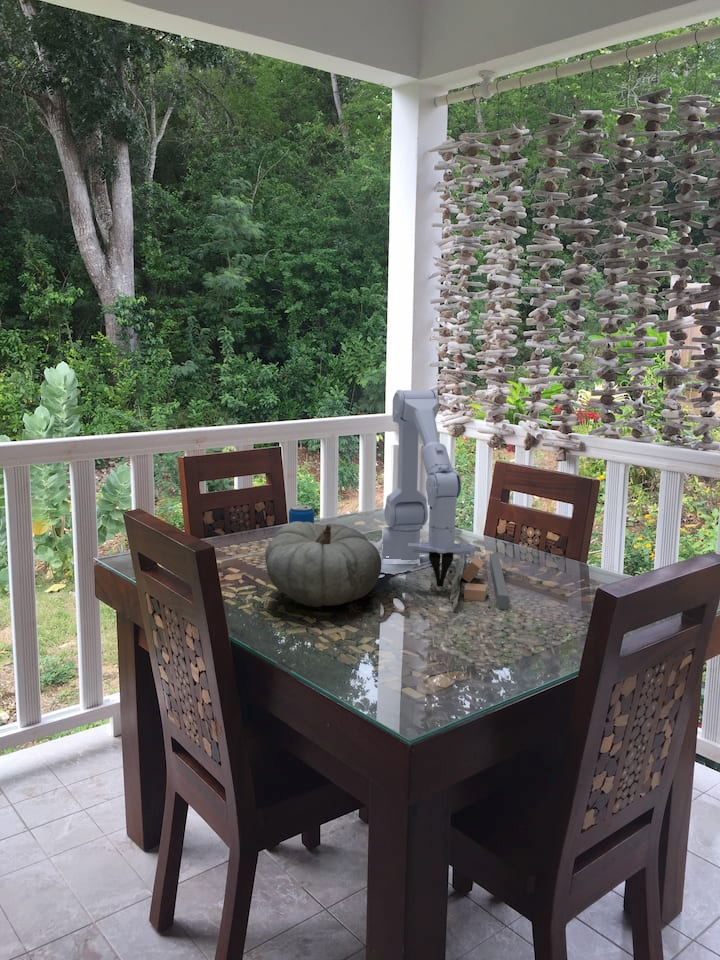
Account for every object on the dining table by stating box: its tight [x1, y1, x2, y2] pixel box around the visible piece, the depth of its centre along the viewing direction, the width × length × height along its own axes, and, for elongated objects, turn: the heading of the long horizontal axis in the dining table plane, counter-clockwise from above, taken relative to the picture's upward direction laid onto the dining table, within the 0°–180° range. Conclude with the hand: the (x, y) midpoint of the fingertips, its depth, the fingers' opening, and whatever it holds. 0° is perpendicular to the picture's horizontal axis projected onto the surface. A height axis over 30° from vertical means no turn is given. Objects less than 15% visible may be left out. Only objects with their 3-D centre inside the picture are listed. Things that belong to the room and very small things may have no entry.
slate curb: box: [489, 553, 509, 610], centre depth 187 cm, size 2×32×3 cm, turn 174°
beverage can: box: [288, 504, 315, 524], centre depth 212 cm, size 6×6×12 cm
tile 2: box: [461, 555, 485, 583], centre depth 191 cm, size 4×4×2 cm
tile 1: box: [463, 582, 488, 602], centre depth 179 cm, size 4×4×2 cm
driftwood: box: [447, 555, 466, 610], centre depth 186 cm, size 37×2×5 cm
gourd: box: [264, 521, 383, 608], centre depth 175 cm, size 25×25×17 cm
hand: (440, 585), depth 183 cm, fingers closed
